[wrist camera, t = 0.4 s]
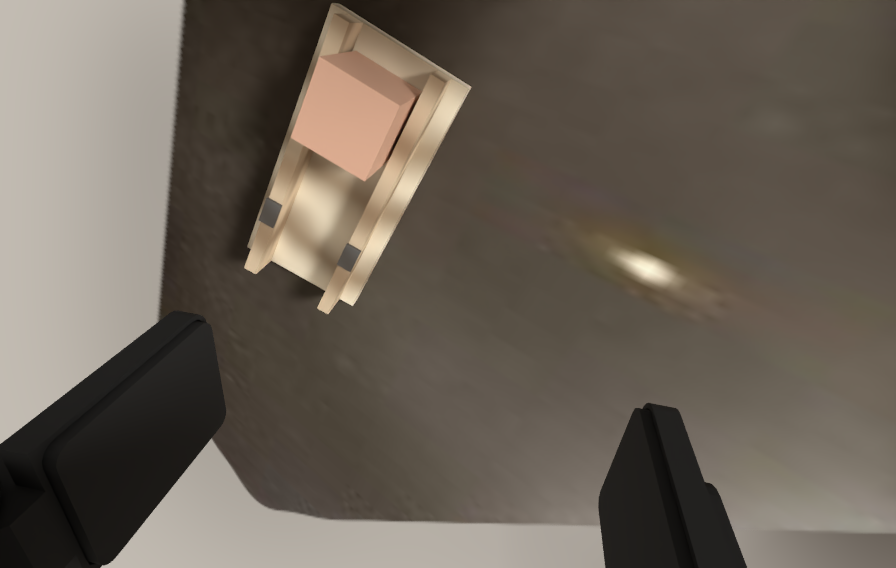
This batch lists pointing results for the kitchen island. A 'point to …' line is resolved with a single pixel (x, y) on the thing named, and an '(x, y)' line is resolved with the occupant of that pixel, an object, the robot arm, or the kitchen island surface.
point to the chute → (341, 193)
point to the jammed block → (354, 112)
